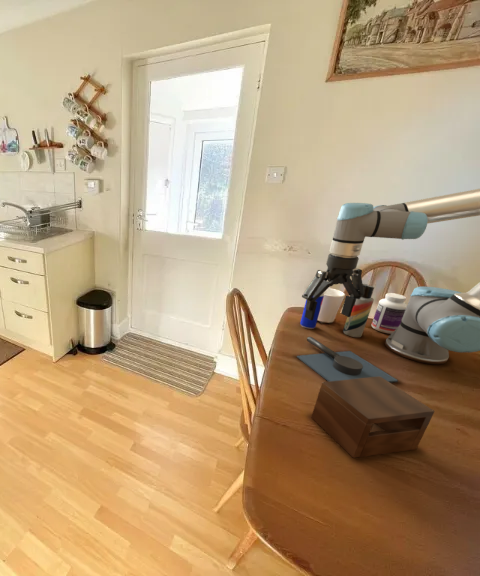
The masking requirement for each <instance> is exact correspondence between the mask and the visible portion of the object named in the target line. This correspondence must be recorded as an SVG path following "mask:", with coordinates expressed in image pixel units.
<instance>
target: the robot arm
mask: <svg viewBox="0 0 480 576" xmlns="http://www.w3.org/2000/svg"><path fill="white" fill-rule="evenodd" d="M479 216H480V188H476V189H470V190H464V191H460V192H454V193H449V194H444V195H438V196H433V197H427V198H422V199H417V200H416V199H415V200H412V201H411V200H410V201H407V202H405V201H404V202H402V203H394V204H390V205H386V204H380V205H375V206H374V204H372V203H366V202H346V203H344V204H342V205H341V206H340V209H339V212H338V216H337V218H336V223H335V226H334V227H335V228H334V232H333V235H332V239H331V243H330V247H329V251H328V252H329V254H328V255H327V259H326V264H325V265H326V267H327V268H326V270H321V269H317V271H316V273H315V275H314V278H313V279H312V280H311V282H310V284H308V286H307V287H306V289H305V290H304V292H303V293H302V294H301V298H303V299H304V300H306V299H307V303H306V302H305V303H306V313H305V317H306V318H308V319H309V320H313V318H314V314H315V310H316V306H317V301H316V300H317V299H318V298H319V297H320V296H321V295H322V294H323V293H324V292H325V291H326V290H327V289H328V288H331V287H333V286H334V285H339V284H340V285H343V287H344V289H345V291H346V292H347V294H348V295H345V297H344V298H345V299H344V302H343V306H342V310H341V313H340V314H341V315H343V316H345V317H346V318H347V317H350V316H351V312H352V309H353V307H354V305H355V302H356V299H360V298H361V296H363V295H364V289H363V284H364V282H363V279H362V273H363V270H362V269H361V268H358V267H357V266H358V263H359V259H360V258H359V256H360V255H361V251H362V248H363V244H364V243H365V242H364V241H365V239H366V238H380V239H383V238H384V239H395V240H397V239H398V240H402V241H403V240H418V239H420V238H421V237H422V236H423V234H424V233H425V231H426V230H427V226H428V224H433V223H440V222H448V221H453V220H459V219H466V218H467V219H468V218H473V217H479ZM313 296H314V297H313ZM384 345H385V347H386V348H387V349H388V350H390V351H391V352H392V353H394V354H396V355H398V356H400V357H402V358H406V359H408V360H411V361H414V362H418V363H422V364H427V365H444V364H446V363H447V362H448V360H449V357H450V352H454V353H476V352H480V281H479V282H478V283H477V284H475V286H472V288H471V289H469V290H468V291H466V292H461V291H459V290H458V291H457V290H453V289H448V288H442V287H434V286H416V287H415V288H414V289H413V291H412V292H411V294H410V297H409V299H408V302H407V307H406V310H405V313H404V315H403V318H402V321H401V323H400V326H399V327H398V328H397V329H396V330H395V331H394V332H393V333H392V334H389V335H388V337H387V338H386V340H385V342H384ZM449 351H450V352H449Z"/></svg>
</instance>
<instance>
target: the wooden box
mask: <svg viewBox="0 0 480 576" xmlns="http://www.w3.org/2000/svg"><path fill="white" fill-rule="evenodd" d="M435 412H436V411H435V409H432V408H431V407H429V406H427V404H424V403H423V402H421V401H419V400H418V398H417V399H416V398H415V397H413V396H412V395H411V394H409V393H407V392H406V391H404V390H403V389H400V388H399V387H398V386H397V385H394V384H393V383H390V382H388V381H387V380H385V379H383V378H382V377H380V376H378V377H368V378H359V379H349V380H340V381H330V382H328V381H323V382H321V384H320V388H319V391H318V395H317V397H316V400H315V404H314V406H313V411H312V413H311V417H310V418H311V419H312V420H313V421H314V422H315V423H316V424H317V425H318V426H319V427H320V428H322V430H323V431H325V432H326V433H327V434H328V436H330V437H331V438H332V439H333V440H334V441H335V442H336V443H337V444H338V445H339V446H340V447H341V448H342V449H343V450H344V451H345V452H346V453H347V454H348V455H349V456H350V457H352V458H353V459H355V458H362V457H363V458H364V457H369V456H377V455H385V454H392V453H393V454H394V453H398V452H399V453H401V452H406V451H414V450H417V448H418V447H419V444H420V442H421V440H422V438H423V436H424V435H425V432H426V431H427V428H428V426H429V424H430V422H431V420H432V418H433V416H434V413H435ZM374 424H376V425H377V426H379V427H380V428H381V429H382V430H378V431H372V427H373V425H374Z"/></svg>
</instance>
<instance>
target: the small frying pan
mask: <svg viewBox="0 0 480 576" xmlns="http://www.w3.org/2000/svg"><path fill="white" fill-rule="evenodd" d="M306 341H307V342H308V343H309V344H311V345H312V346H314V347H315V348H317V349H318V350H320V351H321V352H323V353H326V354H327V355H329V356H330V357H332V358H333V359H334V362H333V367H334V368H335V369H336V370H338V371H340V372H342V373H344V374H348V375H353V376H356V375H360V374H361V371H362V368H363V365H362V364H361V363H360V362H359V361H357V360H355V359H353V358H350V357H346V356H340V355H339V354H337V353H335V352H336V351H335V350H333V349H331V348H329V347H328V346H326V345H325V344H323V343H321V342H320V341H318V340H317V339H315V338H314V337H312V336H308V337H306Z"/></svg>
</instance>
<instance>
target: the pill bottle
mask: <svg viewBox="0 0 480 576" xmlns="http://www.w3.org/2000/svg"><path fill="white" fill-rule="evenodd" d="M406 299H407V297H406V296H405V295H402V294H400V293H394V292H387V293H386V294H385V295H384V298H381V299H380V300H379V301H378V304H377V307H376V310H375V312H374V316H373V319H372V321H371V323H370V324H371V327H372V329H374V330H375V331H377V332H381V333H383V334H387V335H388V334H389V335H391V334H392V333H393V332H394V331H395V330H396V329H397V328H398V327H399V326H400V323H401V321H402V318H403V315H404V313H405V310H406V307H407V305H408V303H406Z"/></svg>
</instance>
